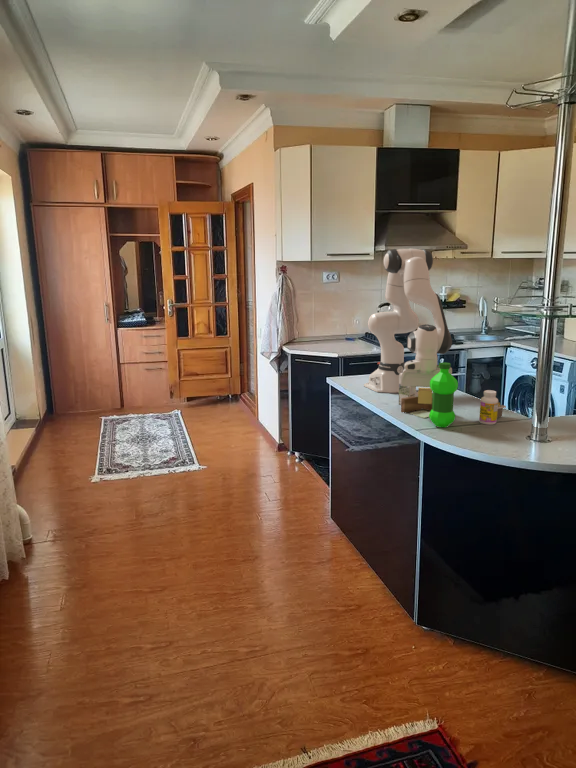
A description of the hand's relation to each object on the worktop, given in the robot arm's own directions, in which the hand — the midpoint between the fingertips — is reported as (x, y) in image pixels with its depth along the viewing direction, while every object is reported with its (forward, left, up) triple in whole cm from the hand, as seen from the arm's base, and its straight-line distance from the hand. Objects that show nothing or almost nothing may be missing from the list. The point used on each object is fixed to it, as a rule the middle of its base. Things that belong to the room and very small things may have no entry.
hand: (424, 397), depth 234 cm
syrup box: (-16, +5, -8) cm, 18 cm away
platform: (+18, +21, -8) cm, 29 cm away
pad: (0, 0, -8) cm, 8 cm away
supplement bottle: (+22, +13, -8) cm, 27 cm away
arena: (-1, +2, -8) cm, 8 cm away
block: (0, 0, -2) cm, 2 cm away
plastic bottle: (+14, -5, -8) cm, 17 cm away
